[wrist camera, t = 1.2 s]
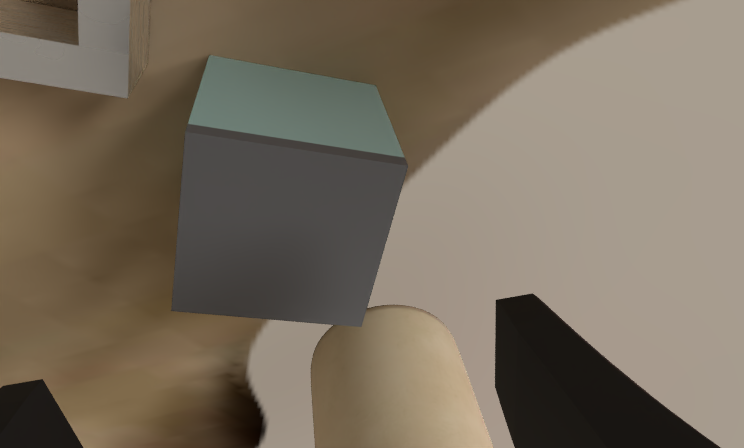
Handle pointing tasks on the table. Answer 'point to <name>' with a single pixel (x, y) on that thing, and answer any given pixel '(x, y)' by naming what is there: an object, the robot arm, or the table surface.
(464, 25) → the table surface
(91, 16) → the silver box with frame
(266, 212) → the mint cube
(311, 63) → the table surface
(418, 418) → the candle
